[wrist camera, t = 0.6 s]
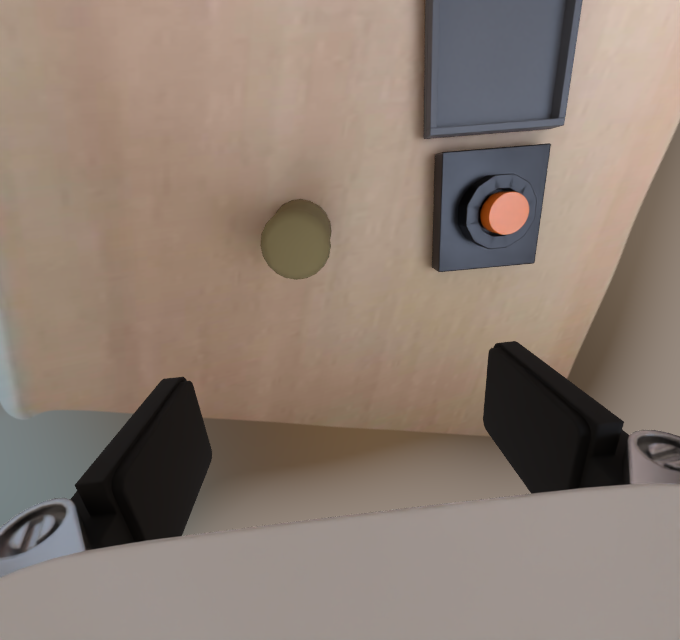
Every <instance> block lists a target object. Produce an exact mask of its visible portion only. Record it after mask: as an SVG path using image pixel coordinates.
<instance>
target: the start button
mask: <svg viewBox="0 0 680 640" xmlns="http://www.w3.org/2000/svg"><path fill="white" fill-rule="evenodd" d="M528 215H529V204H528V201H527V199H526V198H525V197H524V196H523V195H522V194H520V193H518V192H497V193H495V194H493V195H491V196H490V197H489V198H488V199H487V200H486V201H485V202H484V204H483V206H482V208H481V212H480V219H481V223H482V225H483V226H484V228H485V229H486V230H488V231H490V232H494V233H498V234H502V235H508V234H512V233H514V232H516V231H518V230H519V229H520V228H521V227H522V226H523V225H524V224H525V222H526V220H527V218H528Z"/></svg>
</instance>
